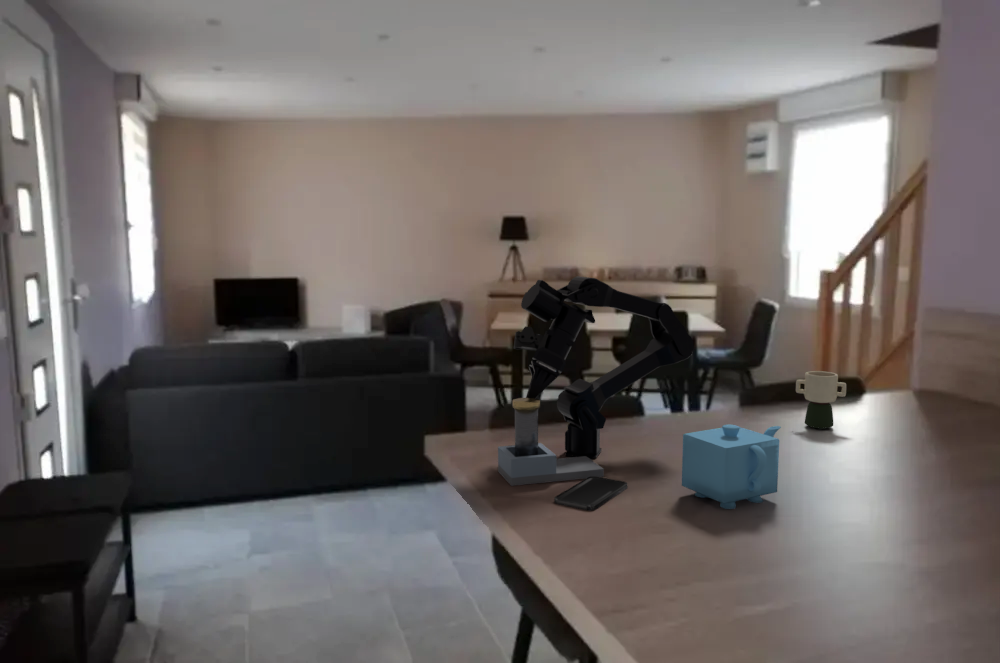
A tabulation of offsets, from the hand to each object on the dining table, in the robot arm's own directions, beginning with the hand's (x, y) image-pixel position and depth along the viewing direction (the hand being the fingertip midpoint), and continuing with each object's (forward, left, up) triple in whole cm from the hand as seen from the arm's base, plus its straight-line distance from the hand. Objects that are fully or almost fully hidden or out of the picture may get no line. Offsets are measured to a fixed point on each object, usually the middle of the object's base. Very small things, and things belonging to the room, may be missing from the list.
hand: (528, 401), depth 154 cm
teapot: (-41, +7, -13) cm, 44 cm away
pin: (-2, +9, -11) cm, 14 cm away
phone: (-16, +15, -13) cm, 26 cm away
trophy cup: (-57, -47, -13) cm, 75 cm away
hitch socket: (-6, +6, -13) cm, 15 cm away
